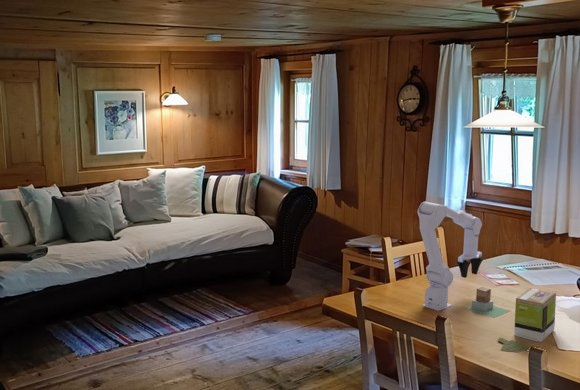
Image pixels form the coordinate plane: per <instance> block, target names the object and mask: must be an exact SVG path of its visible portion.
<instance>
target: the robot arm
mask: <svg viewBox="0 0 580 390" xmlns="http://www.w3.org/2000/svg"><path fill="white" fill-rule="evenodd" d="M416 212H417V215H418V220H419V231H420V235H421V238H422V242H423V245H424V249H425V253H426V256H427V259H428V265H427V266H426V267H425V269H426V279H427V281H428V284H429V287H427V288H426V289H425V291H424V304H422V307H425V308H429V309H432V310H435V311H441V310H445V309H447V308H450V307H452V306H453V305H452V304H451V303H448V302H449V287H450V286H451V285H452V284H453V281H454V274H453V272H451V269H450V267H449V266H448V265H447V264H446V263H445V262H444V260H443V255H442V253H441V249H440V245H439V241H438V237H437V233H436V230H435V229H436V228H438V227H439V226H440V224H441V223H442V222H443V221H444V219H445V218H450V219H451V220H452V221H453V223H454V224H456V225H458V226H460V227H462V229H464V231H463V232H464V234H463V251H462V252H463V253H462V254H461V255H459V256H458V257H457V260H456V264H457V266H458V267H459V272H460V276H461V277H462V278H467V277H468V271H469V268H470V270H471V274H472V275H477V274H478V272H479V268H480V267H481V266H480V265H481V264H482V262H483V261H484V257H482V255H483V252H482V251H478V249H479V248H478V247H479V235H480V233H481V232H480V231H481V228H482V226H483V223H482V220H481V218H479V217H476V216H473V214H472V213H467V212H466V210H464V209H459V210H454V209H452V208H451V207H449V206H448V205H444V204H438V203H434V202H428V201H427V200H426V201H423V202H421V203H420V205H419V207H418V208H417V211H416ZM469 260H470V262H468V261H469ZM470 266H471V267H470Z"/></svg>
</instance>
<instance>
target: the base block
mask: <svg viewBox="0 0 580 390" xmlns="http://www.w3.org/2000/svg"><path fill="white" fill-rule="evenodd" d="M493 306H494V300H492V299H490V301H489V302H486V303H483V302H479V301H476V298H475V299H473V300H471V307H472V308H475V309H479V310H482V311H487V310H489V309H492V308H493Z"/></svg>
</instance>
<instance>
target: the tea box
mask: <svg viewBox="0 0 580 390" xmlns="http://www.w3.org/2000/svg"><path fill="white" fill-rule="evenodd" d="M556 300H557V293H556V292H553V291H547V290H541V289H536V288H531V287H529V289H527V290H526V291H524V292H523V293H521V294H520V295H519V296H517V297H516V298H515V307H514V308H515V310H514V328H513V329H514V330H513V331H514V333H513V335H514V336H517V337H520V338H521V339H525V340H530V341H534V342H538V343H542V342H543V341H544V340H545V339H546V338H547V337H548V336H549V335H550V334H552V333H553V332H554V331H555V327H556V326H555V323H556V320H555V319H556V307H557V306H556V305H557V304H556V302H557V301H556Z"/></svg>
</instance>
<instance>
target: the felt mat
mask: <svg viewBox="0 0 580 390" xmlns="http://www.w3.org/2000/svg"><path fill="white" fill-rule="evenodd" d="M466 310H468V311H471V312H474V313H477V314H481V315H484V316H488V317H490V318H494V319H495V318H497V317H499V316H502V315H504V314H507V313H509V312H511V310H509V309H506V308H502V307H498V306H497V305H493V308H492V309H489V310H487V311H482V310H479V309H475V308H472V306H470V307H467V308H466Z"/></svg>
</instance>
